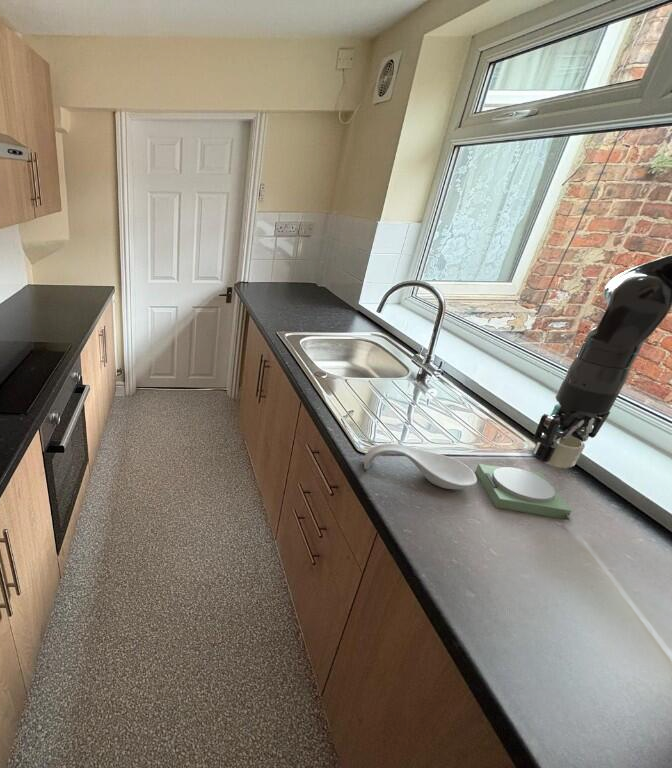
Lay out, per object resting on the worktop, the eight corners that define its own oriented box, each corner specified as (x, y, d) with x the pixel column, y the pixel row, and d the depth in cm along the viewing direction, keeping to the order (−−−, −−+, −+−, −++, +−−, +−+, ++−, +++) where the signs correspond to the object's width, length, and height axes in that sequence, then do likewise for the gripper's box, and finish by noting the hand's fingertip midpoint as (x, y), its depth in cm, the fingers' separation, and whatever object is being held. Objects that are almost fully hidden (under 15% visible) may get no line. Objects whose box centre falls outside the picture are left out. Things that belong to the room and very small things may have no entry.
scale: (537, 481, 100) (543, 469, 98) (566, 519, 89) (573, 507, 87) (475, 471, 104) (479, 460, 102) (495, 507, 92) (501, 495, 91)
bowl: (562, 453, 86) (573, 432, 83) (580, 471, 80) (592, 450, 78) (527, 448, 87) (536, 428, 85) (542, 466, 82) (553, 445, 79)
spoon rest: (464, 471, 104) (474, 447, 100) (479, 502, 94) (489, 477, 91) (361, 453, 111) (367, 430, 108) (365, 480, 101) (371, 456, 98)
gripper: (585, 397, 71) (546, 474, 79) (646, 387, 74) (602, 462, 82) (540, 379, 78) (507, 452, 85) (597, 370, 81) (561, 441, 88)
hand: (554, 456), depth 83 cm, fingers closed on bowl, 6 cm apart
